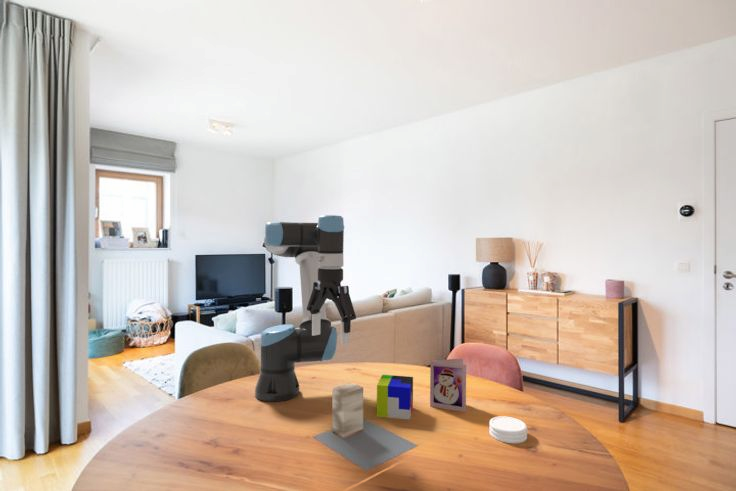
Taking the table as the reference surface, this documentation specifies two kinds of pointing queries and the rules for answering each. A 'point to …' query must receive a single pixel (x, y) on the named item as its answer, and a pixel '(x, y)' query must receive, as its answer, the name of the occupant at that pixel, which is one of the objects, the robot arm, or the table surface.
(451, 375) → the greeting card
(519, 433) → the white round disc stack
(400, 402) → the puzzle toy
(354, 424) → the birch block
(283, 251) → the robot arm
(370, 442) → the slate mat
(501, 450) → the table surface
